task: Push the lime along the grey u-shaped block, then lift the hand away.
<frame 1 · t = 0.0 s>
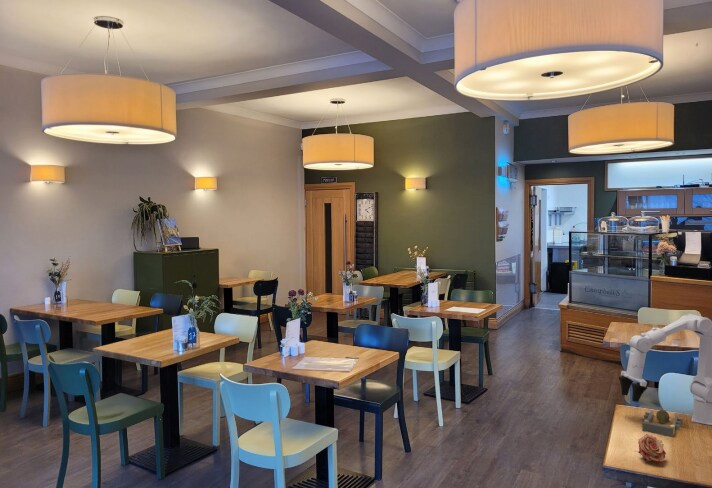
hand: (629, 398, 218), 11 cm above the table, tool pointing down, fingers open, 7 cm apart
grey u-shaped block: (661, 425, 217), on the table
lime: (662, 422, 220), resting in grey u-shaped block
flower: (651, 461, 186), on the table
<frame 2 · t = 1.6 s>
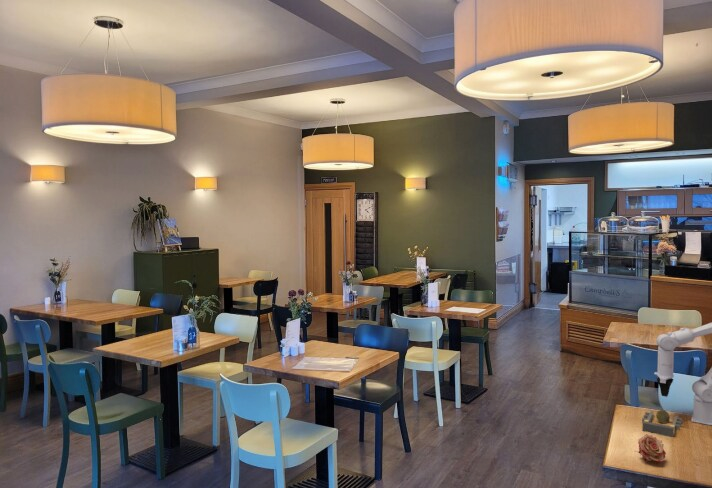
hand: (664, 395, 224), 9 cm above the table, tool pointing down, fingers closed
nothing on the table moved.
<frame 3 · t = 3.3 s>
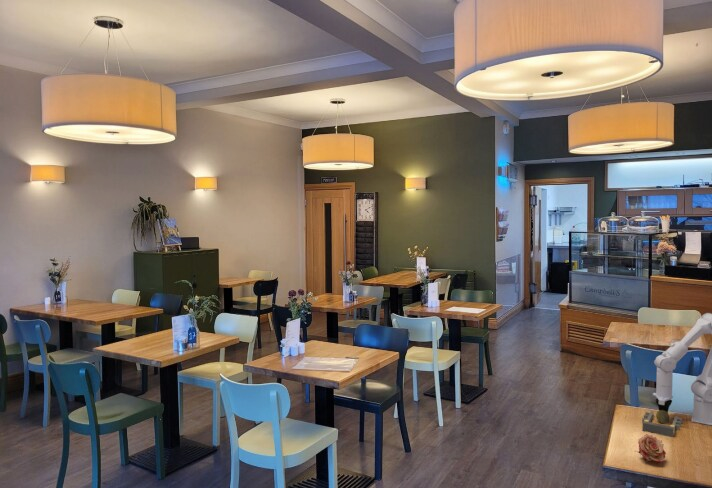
hand: (663, 417, 223), 1 cm above the table, tool pointing down, fingers closed
lime: (662, 422, 220), resting in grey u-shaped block, touching gripper
everything else where it was.
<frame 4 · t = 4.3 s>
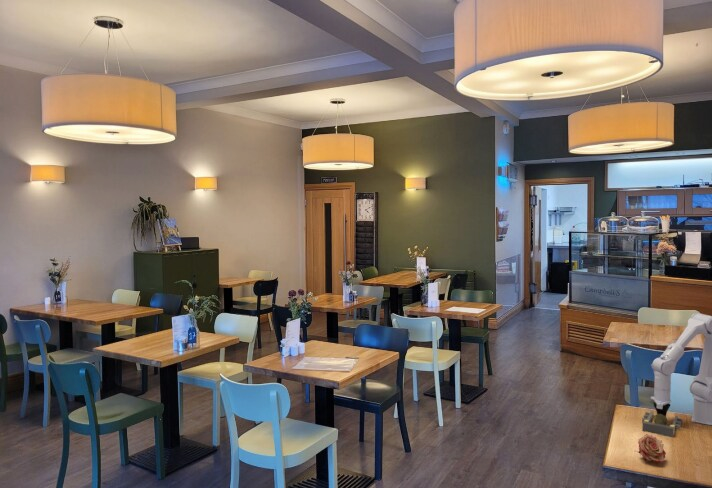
hand: (661, 421, 218), 1 cm above the table, tool pointing down, fingers closed
lime: (659, 426, 216), resting in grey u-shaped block, touching gripper
everything else where it was.
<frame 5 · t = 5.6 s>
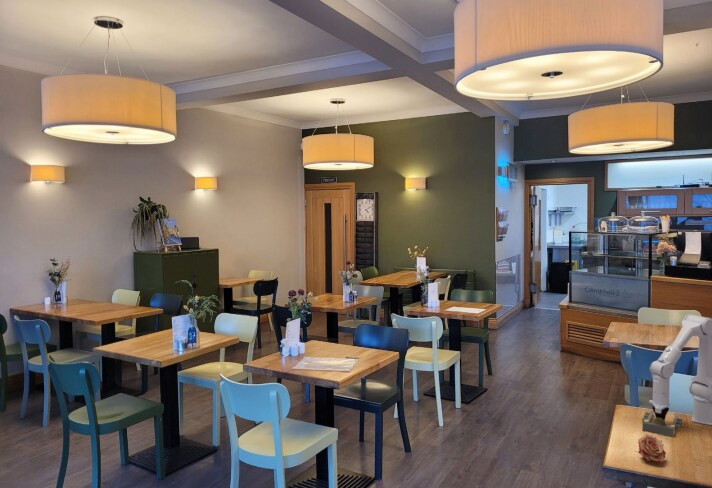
hand: (660, 425, 214), 1 cm above the table, tool pointing down, fingers closed, pressing on lime
lime: (658, 430, 212), resting in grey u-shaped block, touching gripper
everything else where it was.
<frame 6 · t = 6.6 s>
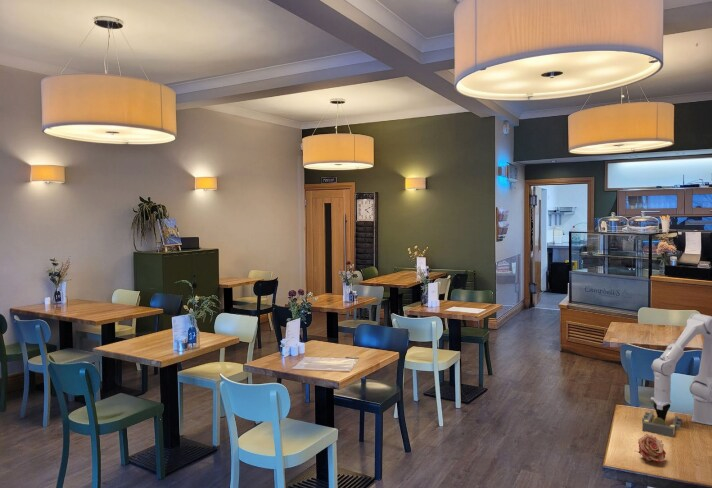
hand: (661, 421, 218), 1 cm above the table, tool pointing down, fingers closed
lime: (658, 430, 212), resting in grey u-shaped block
everything else where it was.
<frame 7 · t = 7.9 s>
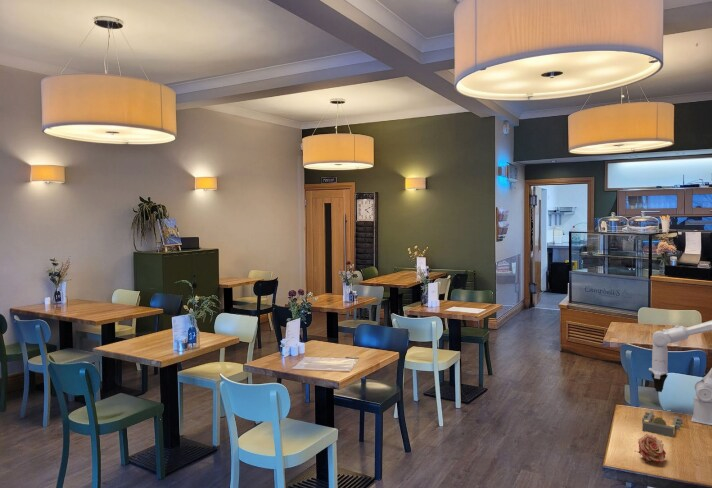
hand: (659, 391, 228), 10 cm above the table, tool pointing down, fingers closed
nothing on the table moved.
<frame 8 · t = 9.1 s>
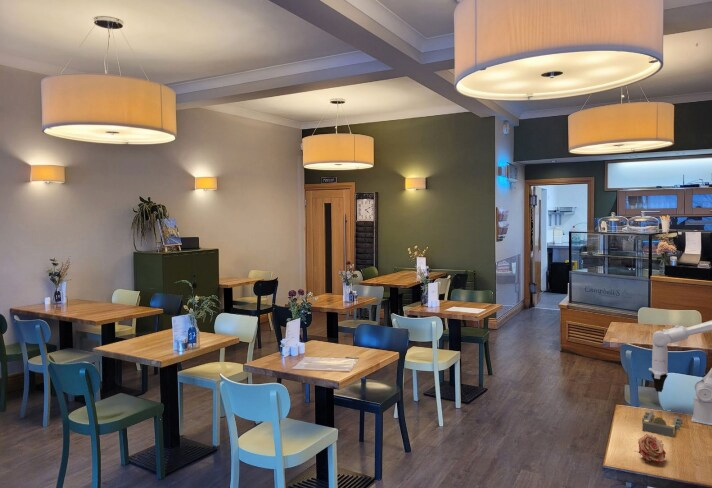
hand: (659, 391, 228), 10 cm above the table, tool pointing down, fingers closed
nothing on the table moved.
at the end: lime inside the target area (0.4 cm from its centre), resting in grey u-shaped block; lime moved 9.9 cm from its start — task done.
